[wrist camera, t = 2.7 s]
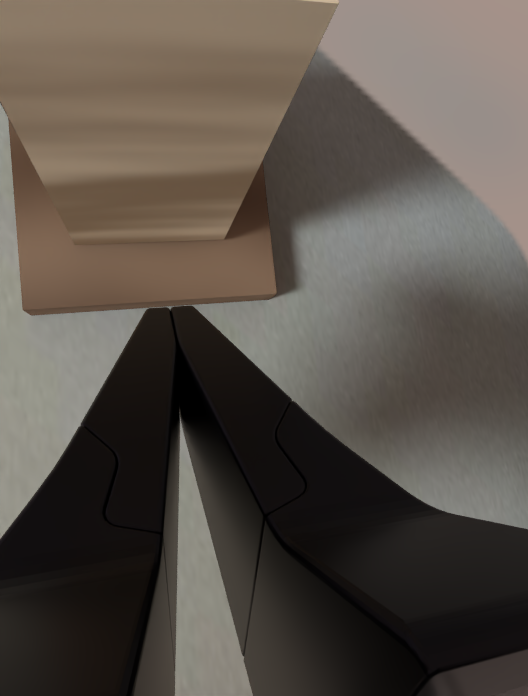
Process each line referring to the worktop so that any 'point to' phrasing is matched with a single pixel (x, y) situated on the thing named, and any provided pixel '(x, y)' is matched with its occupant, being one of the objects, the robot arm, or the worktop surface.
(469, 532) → the robot arm
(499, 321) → the worktop surface
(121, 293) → the wooden phone stand
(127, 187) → the curved wooden panel
